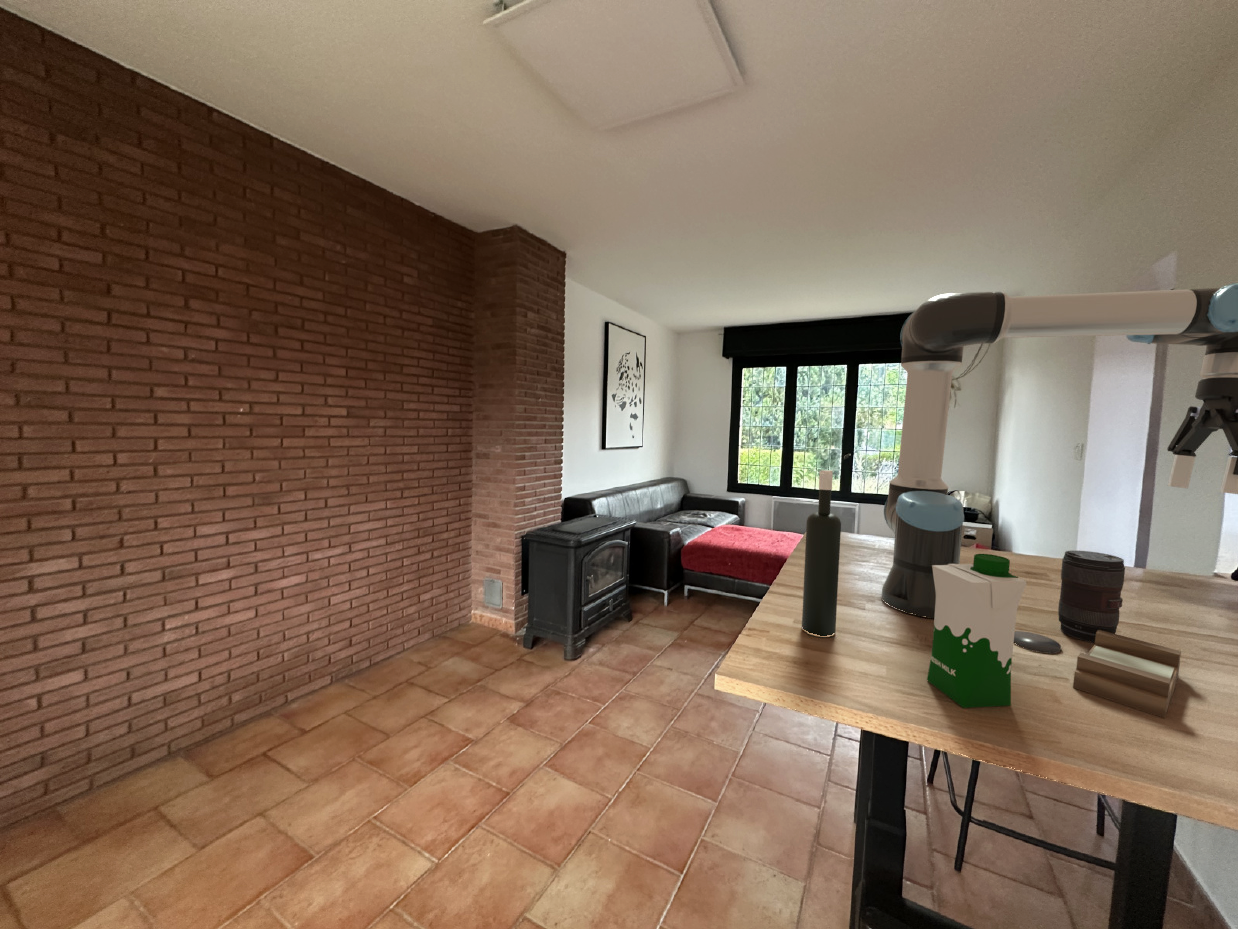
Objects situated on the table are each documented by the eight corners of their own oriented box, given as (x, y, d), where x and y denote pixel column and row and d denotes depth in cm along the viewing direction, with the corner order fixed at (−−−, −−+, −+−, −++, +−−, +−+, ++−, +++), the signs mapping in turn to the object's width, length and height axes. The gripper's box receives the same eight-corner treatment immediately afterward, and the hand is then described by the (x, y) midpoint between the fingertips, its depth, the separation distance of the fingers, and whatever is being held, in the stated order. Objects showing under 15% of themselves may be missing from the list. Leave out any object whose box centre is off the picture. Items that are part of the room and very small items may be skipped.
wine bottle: (835, 627, 91) (843, 469, 88) (835, 640, 86) (843, 473, 82) (802, 622, 93) (810, 468, 90) (800, 634, 88) (807, 471, 85)
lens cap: (1016, 650, 83) (1016, 645, 83) (1002, 633, 89) (1002, 628, 89) (1068, 658, 80) (1068, 653, 80) (1050, 640, 87) (1050, 635, 87)
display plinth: (1164, 718, 64) (1168, 686, 63) (1072, 687, 71) (1076, 658, 71) (1178, 677, 74) (1181, 649, 74) (1096, 653, 81) (1099, 628, 81)
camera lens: (1099, 628, 91) (1108, 551, 89) (1128, 648, 83) (1138, 564, 82) (1046, 622, 93) (1054, 547, 92) (1069, 641, 86) (1078, 559, 84)
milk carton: (1023, 709, 66) (1036, 567, 64) (960, 712, 65) (972, 568, 63) (971, 675, 74) (981, 548, 72) (915, 677, 74) (924, 549, 72)
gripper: (1325, 371, 77) (1291, 500, 79) (1206, 388, 101) (1182, 488, 102) (1260, 367, 80) (1228, 492, 82) (1158, 384, 103) (1136, 482, 105)
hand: (1202, 490), depth 92 cm, fingers open, 13 cm apart
